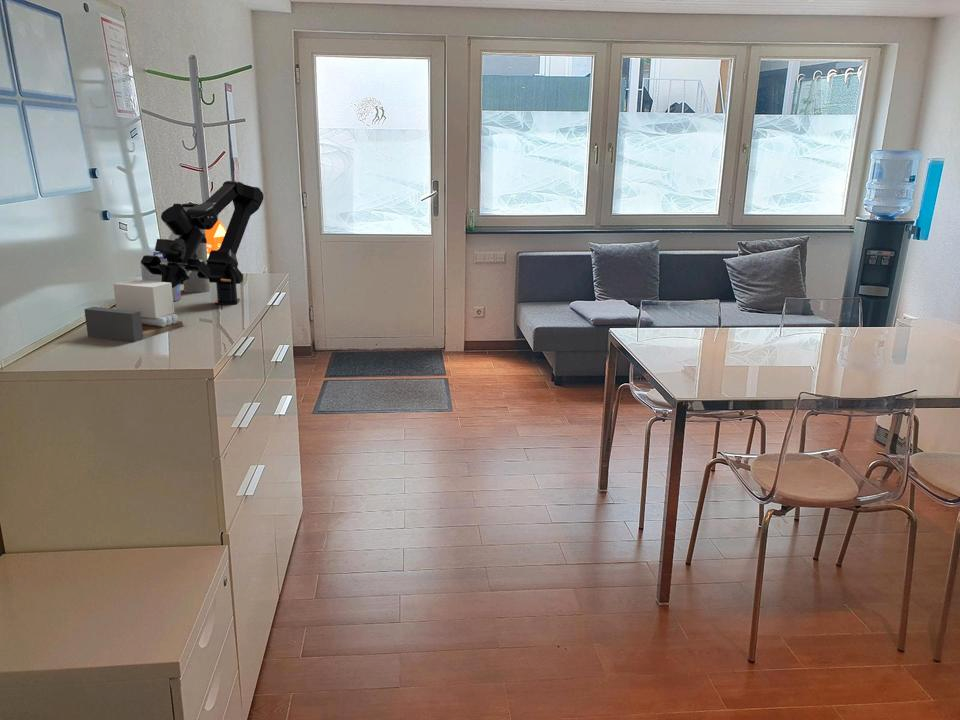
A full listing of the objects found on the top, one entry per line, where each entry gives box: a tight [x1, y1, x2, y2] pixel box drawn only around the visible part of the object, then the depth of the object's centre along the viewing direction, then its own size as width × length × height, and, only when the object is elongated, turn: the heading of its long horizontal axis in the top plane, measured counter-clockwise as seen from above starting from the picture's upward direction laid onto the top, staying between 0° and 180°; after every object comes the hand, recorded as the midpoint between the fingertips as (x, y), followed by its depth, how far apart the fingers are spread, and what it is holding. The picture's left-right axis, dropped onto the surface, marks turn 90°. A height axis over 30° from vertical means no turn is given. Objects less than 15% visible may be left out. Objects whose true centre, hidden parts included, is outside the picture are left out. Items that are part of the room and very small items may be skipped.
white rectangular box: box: [112, 279, 179, 327], centre depth 195 cm, size 7×14×10 cm, turn 73°
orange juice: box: [205, 220, 227, 259], centre depth 270 cm, size 8×9×20 cm
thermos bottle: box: [181, 202, 211, 294], centre depth 242 cm, size 8×8×28 cm
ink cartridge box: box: [140, 251, 182, 302], centre depth 229 cm, size 10×6×14 cm, turn 100°
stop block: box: [83, 306, 144, 343], centre depth 185 cm, size 3×14×7 cm, turn 73°
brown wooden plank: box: [142, 320, 184, 340], centre depth 193 cm, size 18×14×1 cm
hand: (163, 292), depth 201 cm, fingers closed
